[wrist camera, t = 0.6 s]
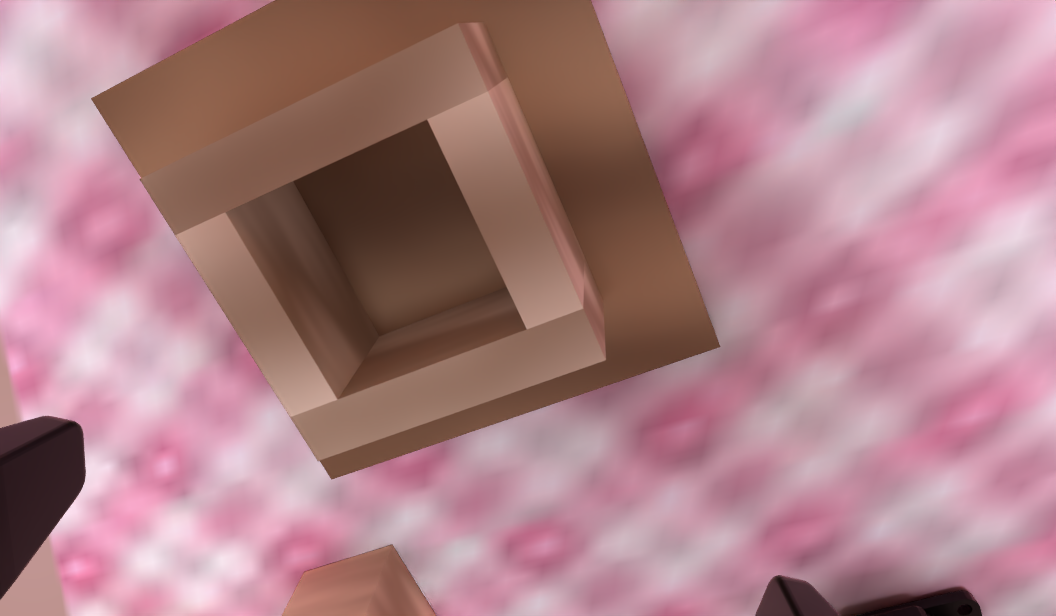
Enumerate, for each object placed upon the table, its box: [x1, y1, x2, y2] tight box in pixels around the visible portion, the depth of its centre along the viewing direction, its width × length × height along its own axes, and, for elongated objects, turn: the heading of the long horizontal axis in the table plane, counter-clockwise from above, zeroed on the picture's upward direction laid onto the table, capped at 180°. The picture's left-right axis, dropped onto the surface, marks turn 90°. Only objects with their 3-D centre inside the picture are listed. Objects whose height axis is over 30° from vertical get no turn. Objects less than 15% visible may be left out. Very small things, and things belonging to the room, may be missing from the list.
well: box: [91, 0, 720, 479], centre depth 19 cm, size 14×14×5 cm
